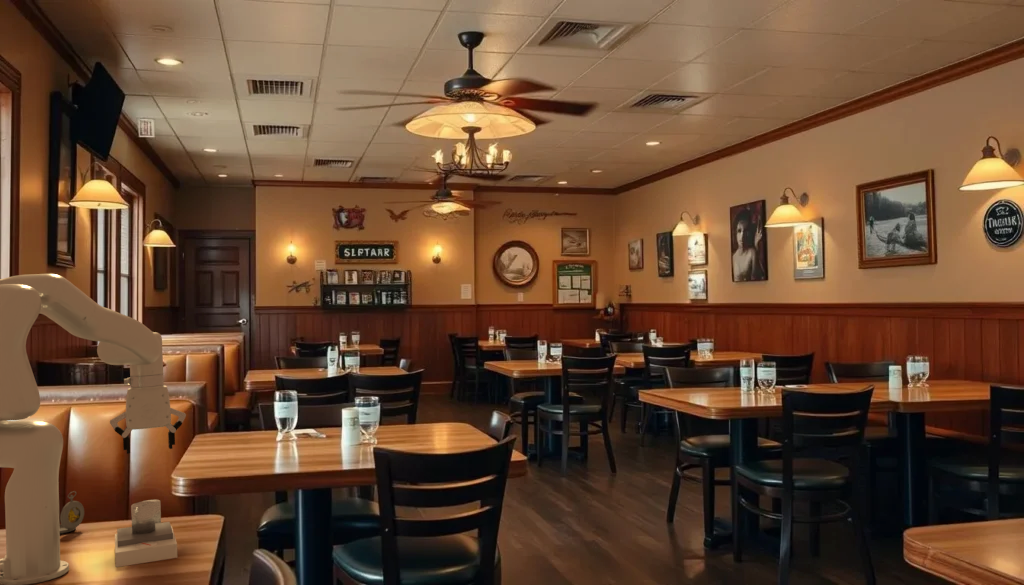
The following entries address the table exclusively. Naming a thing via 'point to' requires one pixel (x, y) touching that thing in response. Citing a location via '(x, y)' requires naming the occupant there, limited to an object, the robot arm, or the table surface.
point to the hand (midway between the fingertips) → (149, 450)
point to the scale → (145, 545)
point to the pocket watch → (71, 515)
